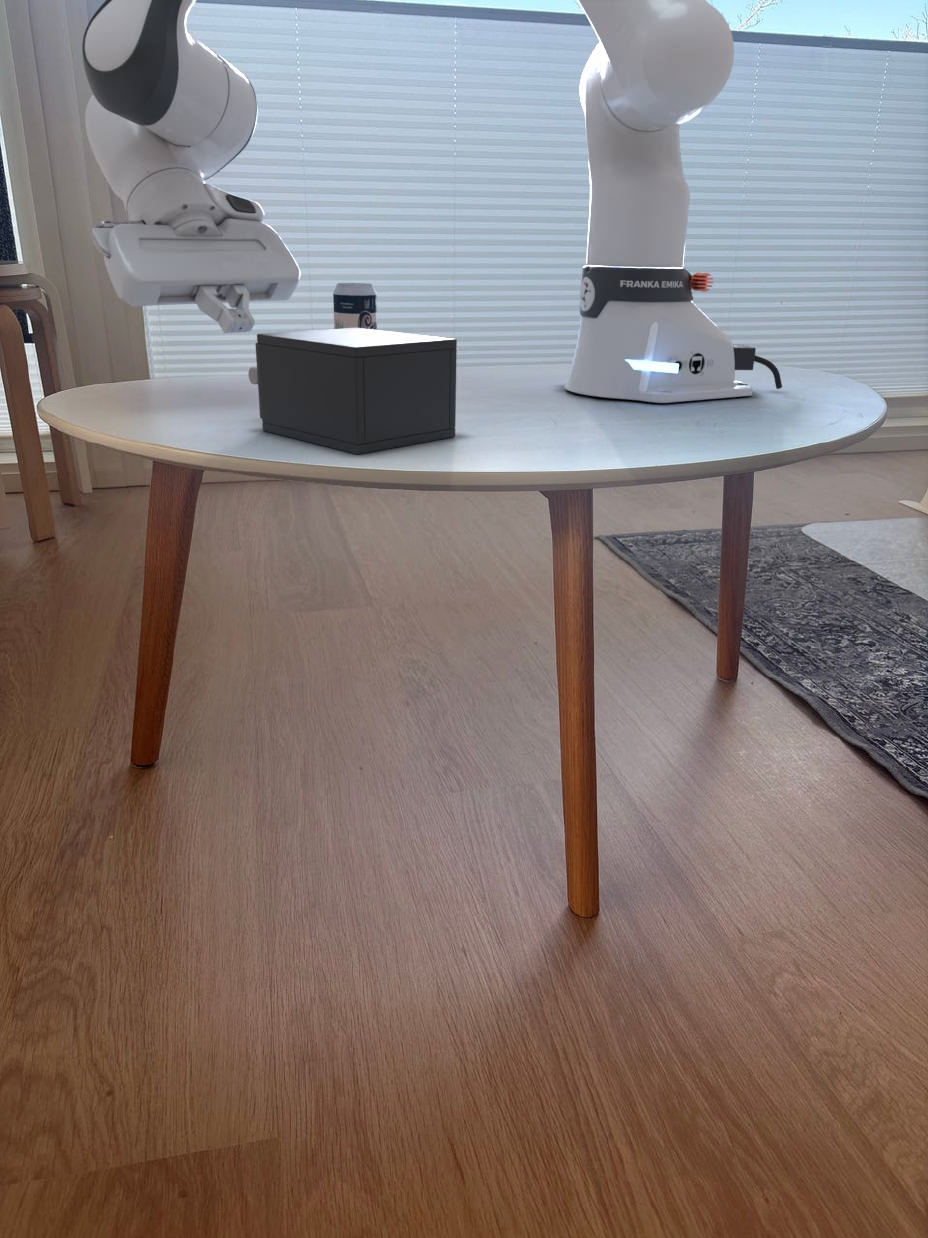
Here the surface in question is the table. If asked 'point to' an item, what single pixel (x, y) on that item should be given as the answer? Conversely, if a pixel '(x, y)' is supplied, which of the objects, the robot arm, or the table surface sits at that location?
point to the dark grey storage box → (358, 387)
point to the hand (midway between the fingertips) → (240, 328)
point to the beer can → (355, 306)
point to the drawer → (256, 378)
